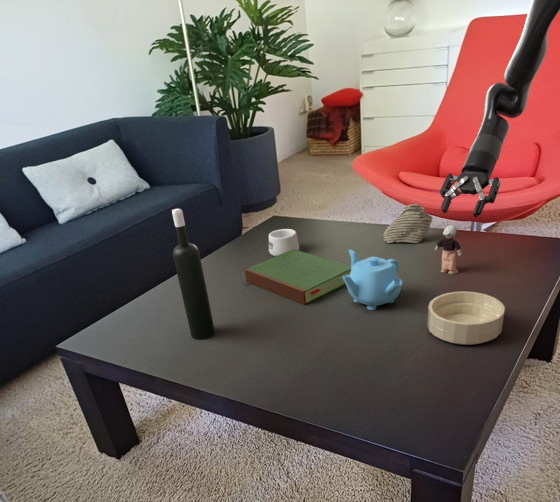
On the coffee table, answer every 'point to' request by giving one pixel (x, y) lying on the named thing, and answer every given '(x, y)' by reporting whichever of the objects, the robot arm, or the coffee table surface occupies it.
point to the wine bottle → (192, 282)
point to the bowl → (465, 317)
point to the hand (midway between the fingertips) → (459, 213)
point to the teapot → (373, 280)
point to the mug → (282, 241)
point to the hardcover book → (298, 276)
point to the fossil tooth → (409, 225)
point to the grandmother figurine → (449, 250)
